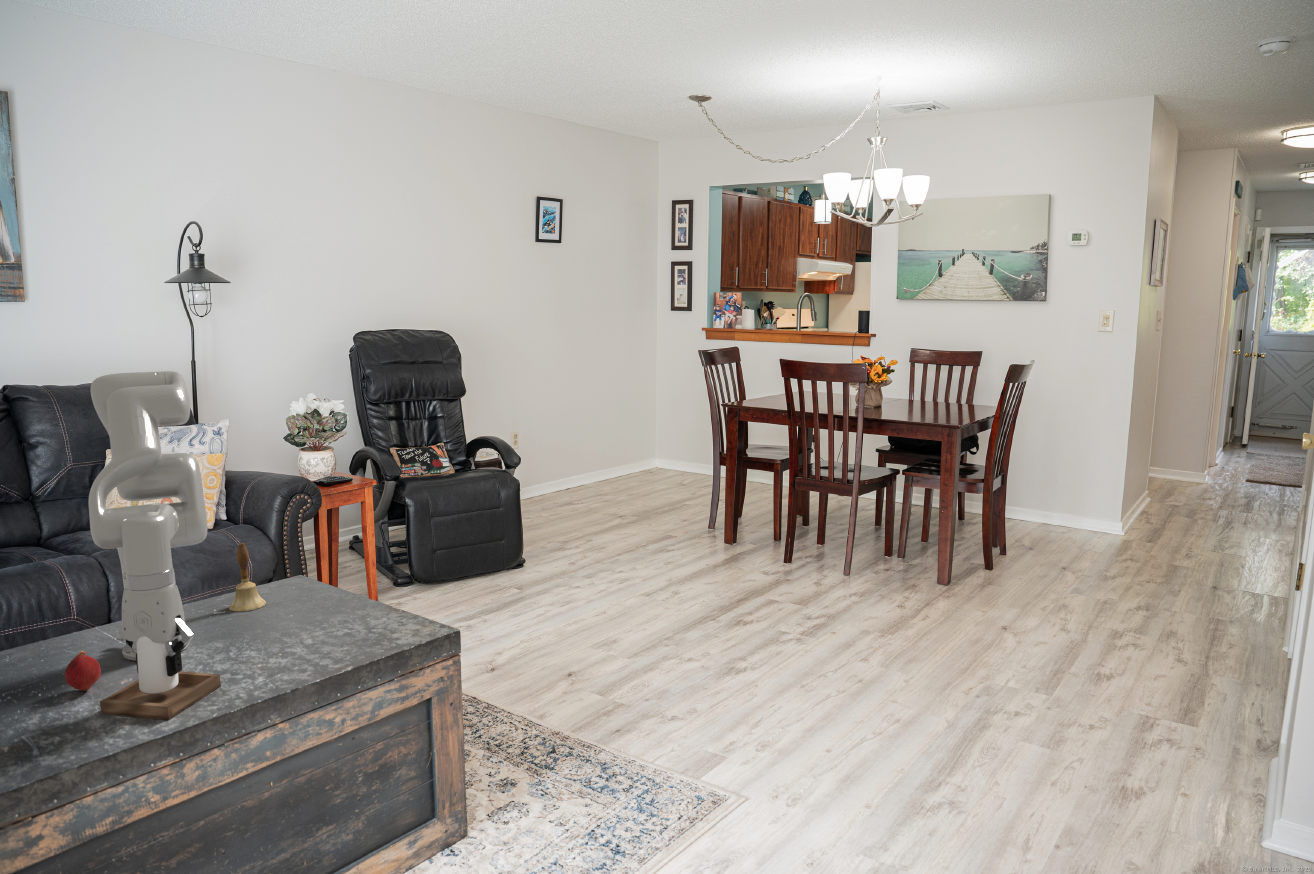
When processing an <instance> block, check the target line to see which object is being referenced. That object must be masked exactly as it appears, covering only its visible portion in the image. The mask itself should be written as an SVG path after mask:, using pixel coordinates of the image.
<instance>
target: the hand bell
mask: <svg viewBox="0 0 1314 874" xmlns="http://www.w3.org/2000/svg"><path fill="white" fill-rule="evenodd" d="M249 559H250V557H249V551H248V548H247V546H246V543H245V542H239V543H238V547H237V551H236V560H237V563H238V565H239V568H240V569H239V570H240V580H241V581H240V583H239V584H237V585H236V586H235V595H234V599H233V601H232V603H231V604H230V605H229V607H228V609H229V611H232V612H236V613H242V612H243V613H244V612H250V611H254V610H258V609H262V608H263V607H265V605H266V604H267V602H266V600H265V599H263V598H262V597H261V595H260V594H259V592H258V590H257V585H256V583H255V582H251V581H250V578H249V570H248V566H249V561H250V560H249Z"/></svg>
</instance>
